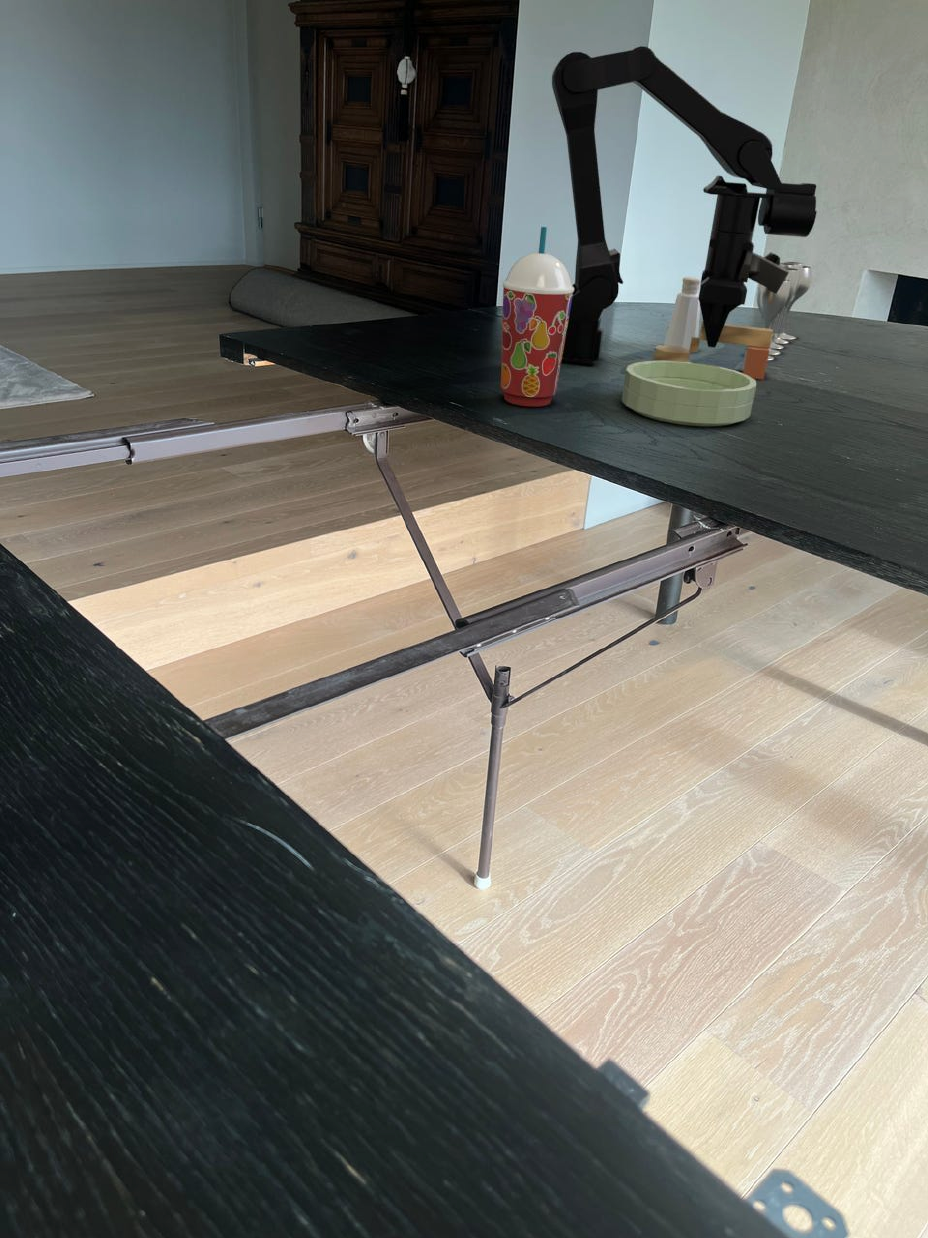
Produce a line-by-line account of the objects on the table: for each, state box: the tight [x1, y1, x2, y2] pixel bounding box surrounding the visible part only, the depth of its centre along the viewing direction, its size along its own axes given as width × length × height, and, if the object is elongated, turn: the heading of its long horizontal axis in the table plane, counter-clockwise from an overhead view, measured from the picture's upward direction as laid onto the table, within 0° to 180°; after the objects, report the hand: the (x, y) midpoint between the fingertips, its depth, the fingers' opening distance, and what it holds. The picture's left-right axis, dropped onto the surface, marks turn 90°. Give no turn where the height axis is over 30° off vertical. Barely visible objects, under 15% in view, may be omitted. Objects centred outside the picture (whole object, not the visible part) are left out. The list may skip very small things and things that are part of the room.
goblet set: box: [756, 261, 813, 361], centre depth 160 cm, size 28×6×13 cm, turn 155°
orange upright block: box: [741, 345, 770, 381], centre depth 140 cm, size 3×5×4 cm, turn 167°
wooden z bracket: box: [652, 320, 774, 362], centre depth 140 cm, size 16×5×7 cm, turn 76°
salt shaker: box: [663, 276, 701, 350], centre depth 152 cm, size 5×5×11 cm
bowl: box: [621, 360, 757, 427], centre depth 118 cm, size 16×16×4 cm
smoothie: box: [500, 226, 574, 408], centre depth 113 cm, size 8×8×20 cm
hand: (711, 345), depth 140 cm, fingers closed on wooden z bracket
